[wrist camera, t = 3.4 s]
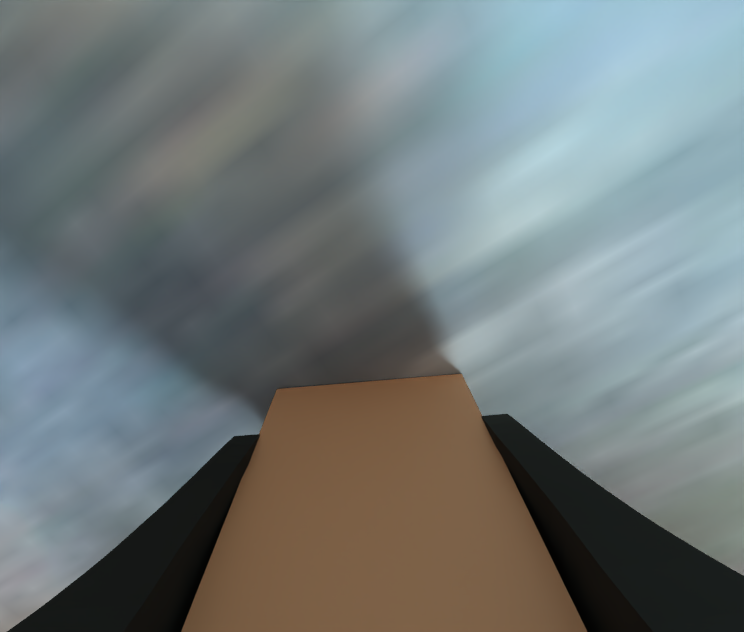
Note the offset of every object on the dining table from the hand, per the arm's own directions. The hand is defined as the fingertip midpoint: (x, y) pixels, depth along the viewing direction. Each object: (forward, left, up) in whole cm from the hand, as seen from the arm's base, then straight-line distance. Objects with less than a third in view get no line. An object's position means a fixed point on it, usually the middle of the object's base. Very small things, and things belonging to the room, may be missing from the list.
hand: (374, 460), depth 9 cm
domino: (0, 0, -2) cm, 2 cm away
